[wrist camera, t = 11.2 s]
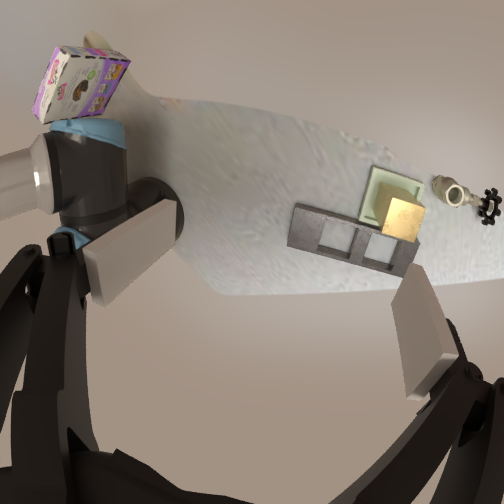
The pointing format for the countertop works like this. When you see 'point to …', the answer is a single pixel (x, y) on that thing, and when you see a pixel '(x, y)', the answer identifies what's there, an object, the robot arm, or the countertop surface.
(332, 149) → the countertop surface
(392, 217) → the wooden block
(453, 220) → the countertop surface
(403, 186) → the tray
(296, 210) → the grey slotted holder
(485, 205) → the valve
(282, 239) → the countertop surface
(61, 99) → the candy box
